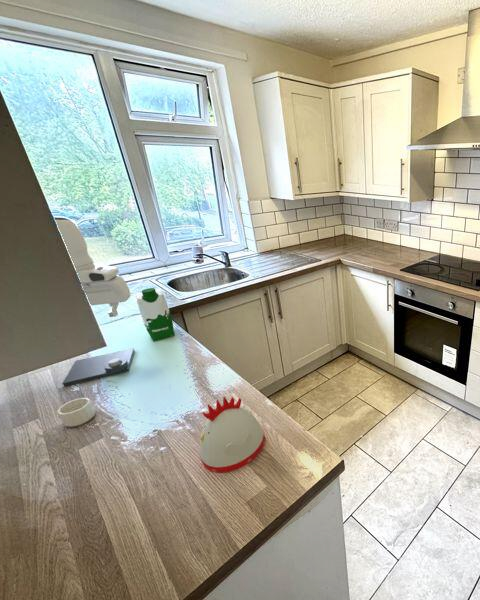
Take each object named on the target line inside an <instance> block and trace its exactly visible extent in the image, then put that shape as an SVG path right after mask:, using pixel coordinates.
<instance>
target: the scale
mask: <svg viewBox="0 0 480 600" xmlns="http://www.w3.org/2000/svg"><path fill="white" fill-rule="evenodd" d="M135 352H136V351H135V348H133V347H132V348H128V349H123V350H120V351H114V352H110V353H105V354H101V355H95V356H91V357H86V358H82V359H77V360H75V361H74V362H73V364H72V366H71V367H70V370H69V372H68V373H67V374H66V376H65V378H64V380H63V381H62V385H63V387H64V388H65V387H70V386H74V385H79V384H82V383H86V382H90V381H91V382H92V381H94V380H98V379H103V378H108V377H111V376H115V375H119V374H120V375H121V374H123V373H128V372H130V369H131V366H132V363H133V359H134V355H135ZM115 358H119V359H120V361H121V364H119V365H117V366H113V367H111V366H110V364H109V361H110V360H112V359H115Z"/></svg>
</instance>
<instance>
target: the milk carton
mask: <svg viewBox="0 0 480 600" xmlns="http://www.w3.org/2000/svg"><path fill="white" fill-rule="evenodd" d="M135 298H136V303H137V305H138V310H139V313H140V315H141V319H142V321H143V324H144V327H145V329H146V331H147V333H148V335H149V336H150V338H151V340H152V342H153V343H154V342H157V341H160V340H165V339H168V338H172V337H175V329H174V322H173V317H172V314H171V311H170V308H169V305H168V302H167V300H166V296H165V293H164V292H163V291H162V289H161V288H154V287H150V288H149V287H148V288H145V289H143V290H142V291H141V292H136V297H135Z"/></svg>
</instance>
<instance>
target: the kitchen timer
mask: <svg viewBox="0 0 480 600" xmlns="http://www.w3.org/2000/svg"><path fill="white" fill-rule="evenodd" d="M222 398H223V399H222V405H221V402H220V401H219V399H216V406H215V407H216V408H215V409H214V408H213V407H212V406H211V405H210V404H209V403H208V404H207V409H208V412H203V411H201V414H202V415H203V417H205V418H206V419H207V420H206V421H205V424H204V425H203V428H202V430H201V434H200V440H199V456H200V461H201V463H202V465H203V467H204V468H205V469H207V470H208V471H210V472H213V473H228V472H232V471H235V470H239V469H240V468H242V467H245V466H247V465H248V464H249V463H250V462H251V461H253V460H254V459H255V458H256V457H257V456H258V455H259V454H260V453H261V451H262V449H263V447H264V444H265V435H264V431H263V428H262V425H261V423H260V422H259V421H258V420H257V418H256V417H255V416H254V415H253V413H252V412H251V411H249V410H248V409H246V408H244V407H242V406H241V404H242V398H241V397H239V398H238V400H237V401H236V403H235V397H233V396H231V398H230V400H229V401H228V399H227V398H226V397H225V396H223V397H222Z"/></svg>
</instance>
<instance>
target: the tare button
mask: <svg viewBox="0 0 480 600" xmlns="http://www.w3.org/2000/svg"><path fill="white" fill-rule="evenodd" d="M109 364H110V366H111V367H113V366H117V365H119V364H121V361H120V359H119V358H115V359H112V360H110V361H109Z"/></svg>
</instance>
